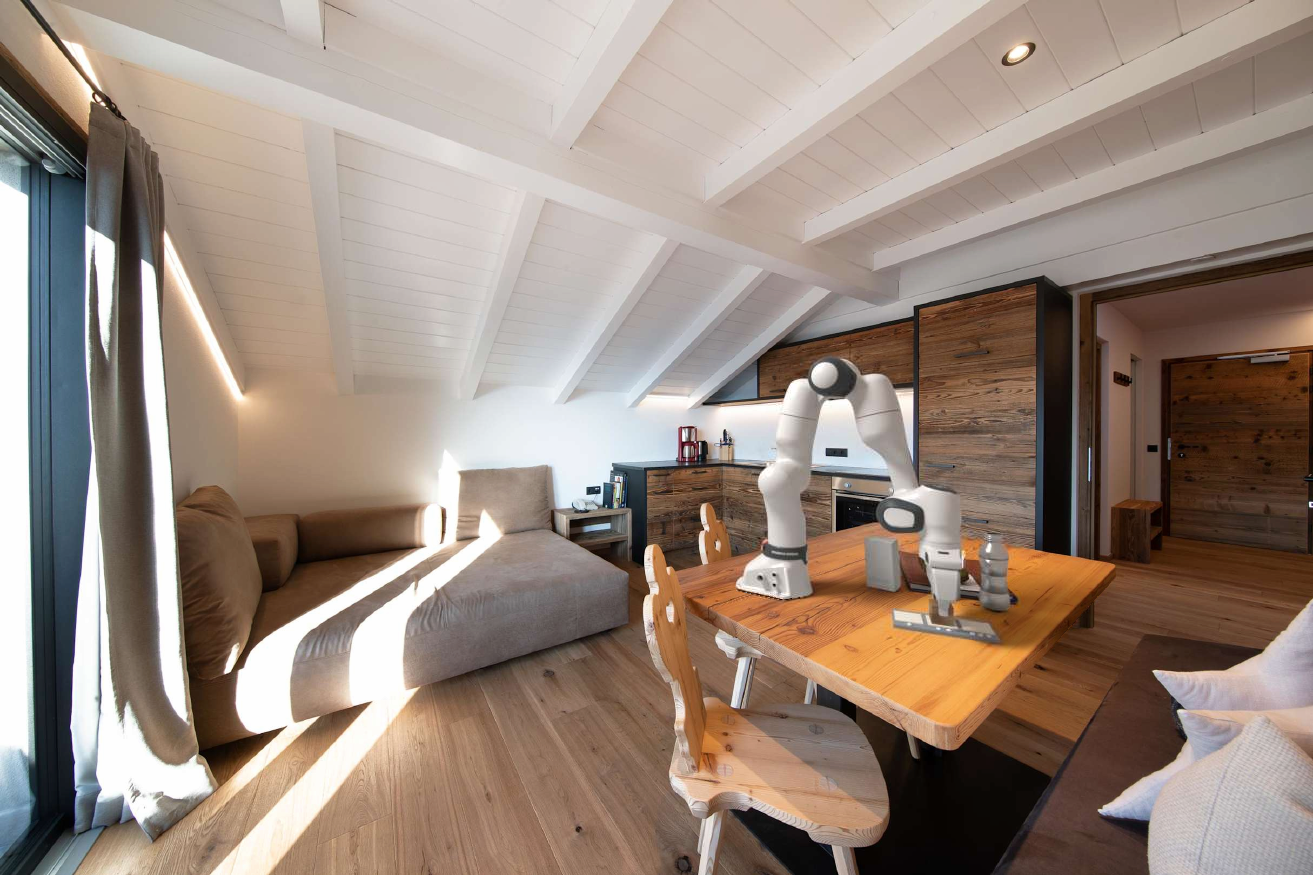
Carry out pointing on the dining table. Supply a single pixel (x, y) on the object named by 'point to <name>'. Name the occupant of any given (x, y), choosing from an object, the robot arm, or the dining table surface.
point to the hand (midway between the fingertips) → (939, 607)
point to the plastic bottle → (994, 573)
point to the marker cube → (936, 617)
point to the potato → (963, 573)
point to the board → (960, 629)
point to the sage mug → (957, 590)
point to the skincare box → (882, 563)
